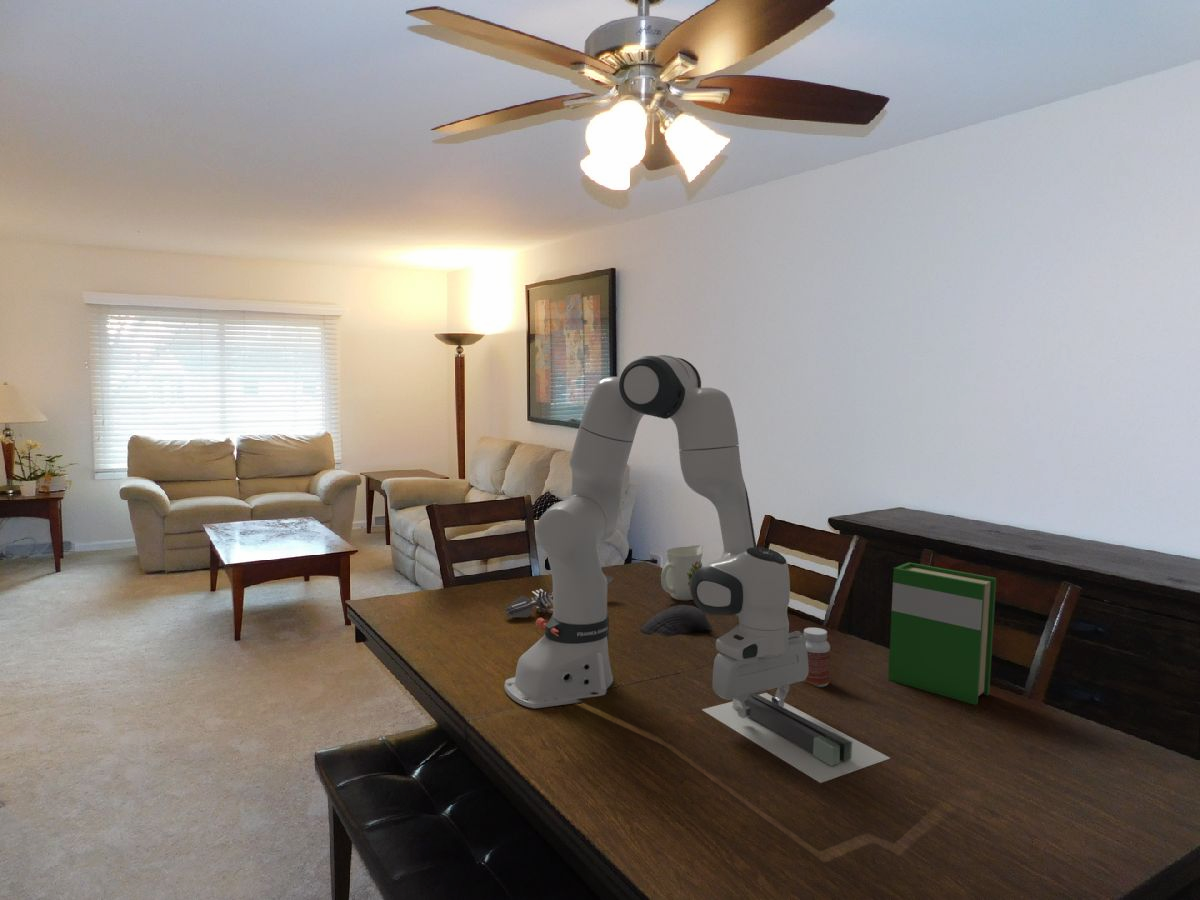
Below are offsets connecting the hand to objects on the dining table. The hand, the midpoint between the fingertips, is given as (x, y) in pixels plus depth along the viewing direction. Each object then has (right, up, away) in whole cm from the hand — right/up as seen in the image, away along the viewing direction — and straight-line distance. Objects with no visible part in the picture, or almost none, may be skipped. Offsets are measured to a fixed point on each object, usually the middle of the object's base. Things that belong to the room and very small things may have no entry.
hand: (761, 711), depth 143 cm
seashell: (-10, +2, +53) cm, 54 cm away
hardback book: (+40, -1, +18) cm, 44 cm away
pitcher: (-6, +5, +80) cm, 81 cm away
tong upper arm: (+5, -2, -6) cm, 8 cm away
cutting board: (+4, -3, -5) cm, 7 cm away
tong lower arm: (+3, -2, -5) cm, 6 cm away
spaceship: (-40, +5, +69) cm, 80 cm away
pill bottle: (+15, -1, +20) cm, 25 cm away
